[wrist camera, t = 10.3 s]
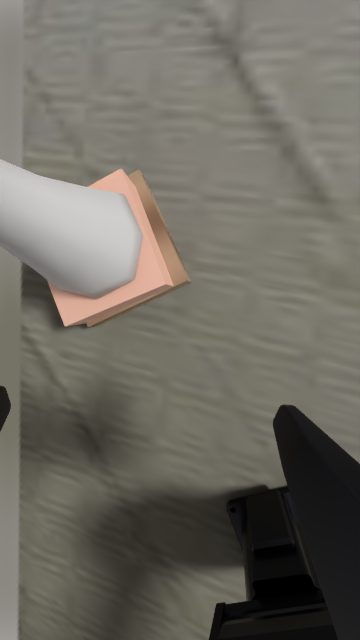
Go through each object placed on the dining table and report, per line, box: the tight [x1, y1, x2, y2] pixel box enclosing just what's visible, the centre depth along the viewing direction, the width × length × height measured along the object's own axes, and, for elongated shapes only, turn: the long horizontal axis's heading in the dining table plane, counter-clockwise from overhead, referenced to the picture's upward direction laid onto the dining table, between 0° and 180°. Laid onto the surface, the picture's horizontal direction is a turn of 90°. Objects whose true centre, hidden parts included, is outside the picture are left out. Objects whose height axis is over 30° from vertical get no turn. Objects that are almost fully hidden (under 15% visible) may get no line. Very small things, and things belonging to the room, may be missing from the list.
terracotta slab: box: [47, 169, 174, 327], centre depth 18 cm, size 8×8×2 cm
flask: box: [0, 159, 143, 298], centre depth 11 cm, size 7×7×10 cm
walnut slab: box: [86, 169, 191, 327], centre depth 20 cm, size 9×9×2 cm
